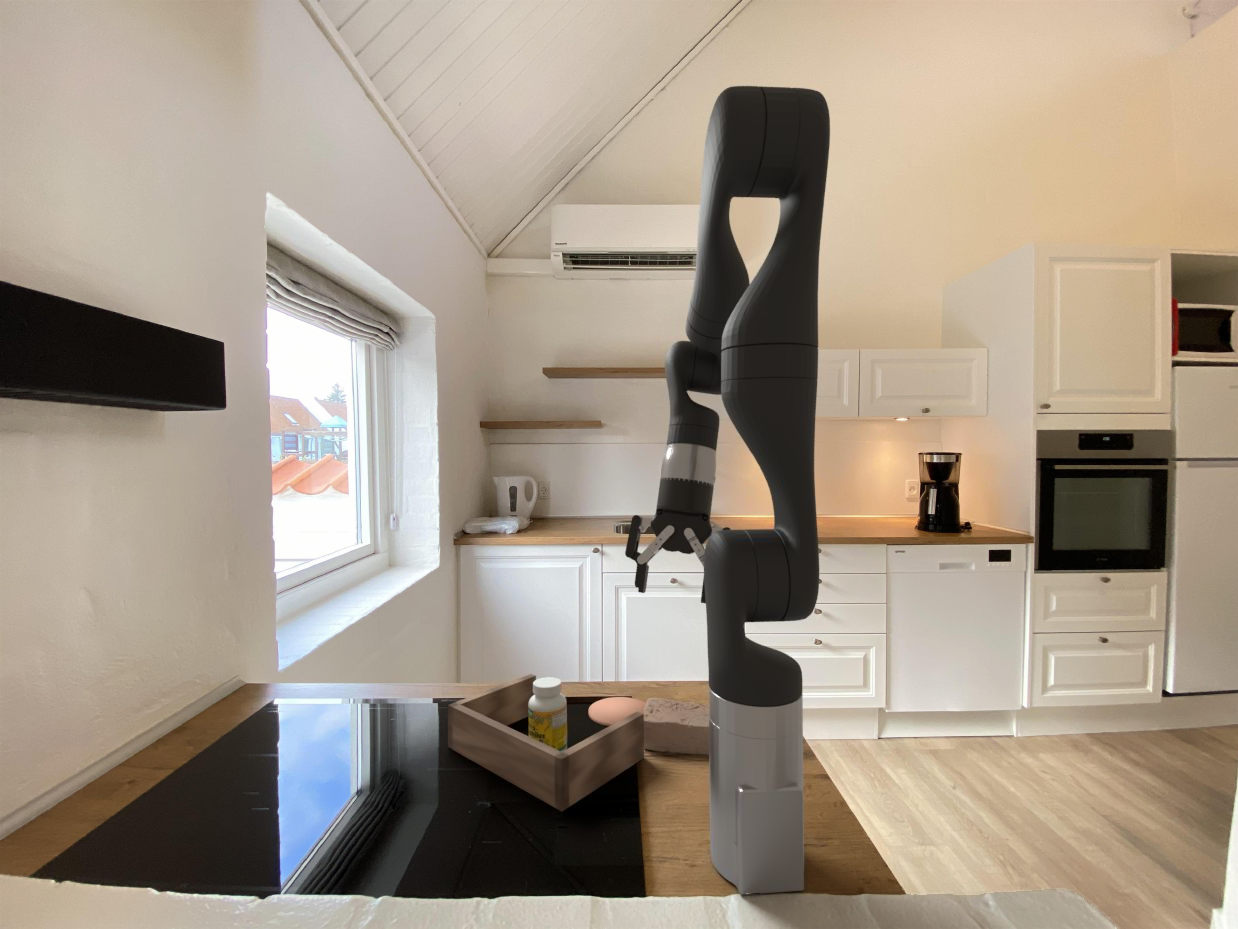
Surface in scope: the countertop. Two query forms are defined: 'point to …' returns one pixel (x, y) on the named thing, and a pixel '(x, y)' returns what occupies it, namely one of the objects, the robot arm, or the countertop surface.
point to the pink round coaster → (614, 709)
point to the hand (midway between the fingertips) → (672, 597)
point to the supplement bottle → (548, 713)
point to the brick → (676, 726)
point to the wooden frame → (539, 746)
